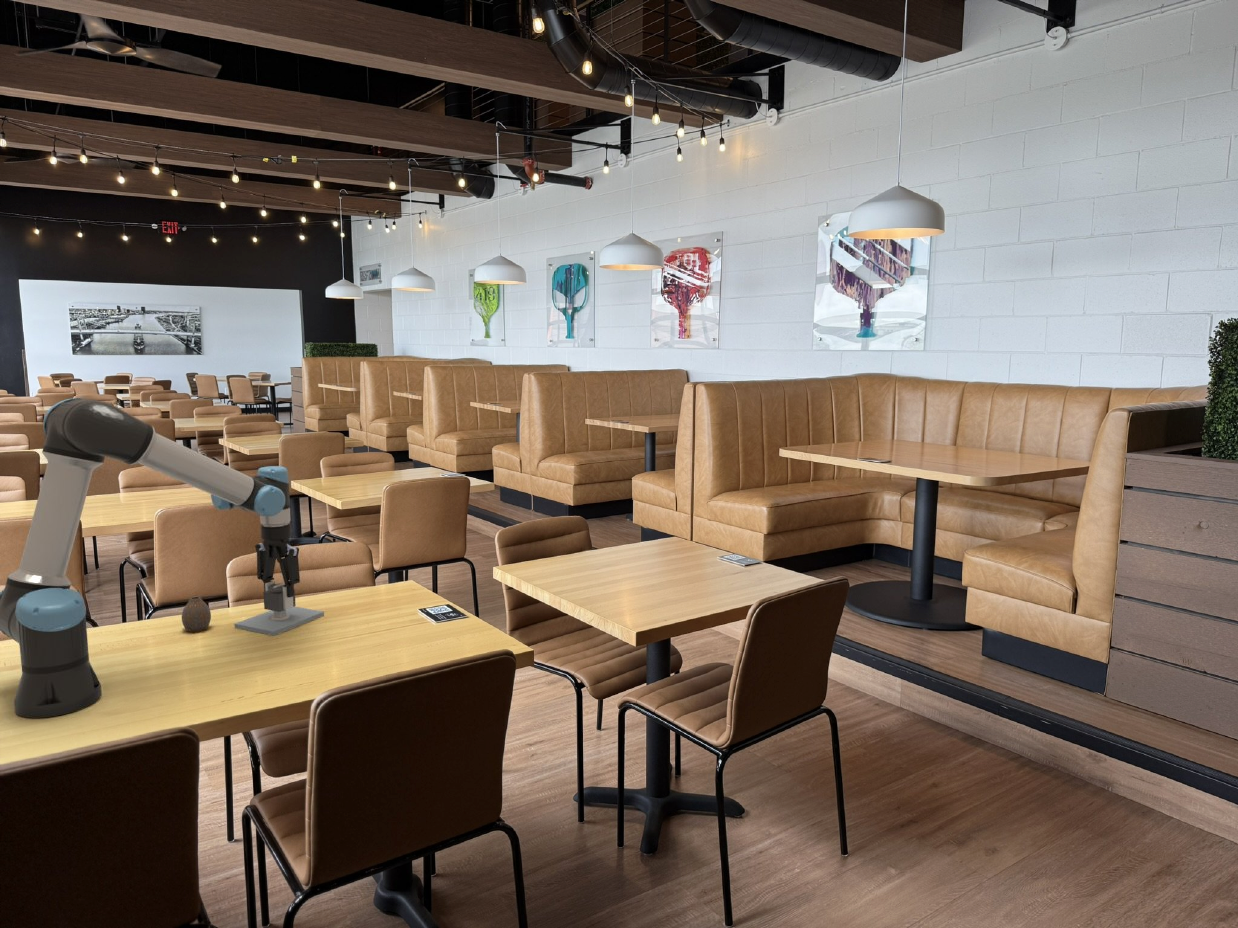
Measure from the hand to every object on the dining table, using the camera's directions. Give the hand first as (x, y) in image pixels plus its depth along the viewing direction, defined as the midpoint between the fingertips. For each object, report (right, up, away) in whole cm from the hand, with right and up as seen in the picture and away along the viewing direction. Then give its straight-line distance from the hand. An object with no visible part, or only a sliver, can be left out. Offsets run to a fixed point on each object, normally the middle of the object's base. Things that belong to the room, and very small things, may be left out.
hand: (279, 606), depth 223 cm
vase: (-19, -5, -6) cm, 21 cm away
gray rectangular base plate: (0, -4, +1) cm, 4 cm away
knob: (0, 0, 0) cm, 0 cm away
